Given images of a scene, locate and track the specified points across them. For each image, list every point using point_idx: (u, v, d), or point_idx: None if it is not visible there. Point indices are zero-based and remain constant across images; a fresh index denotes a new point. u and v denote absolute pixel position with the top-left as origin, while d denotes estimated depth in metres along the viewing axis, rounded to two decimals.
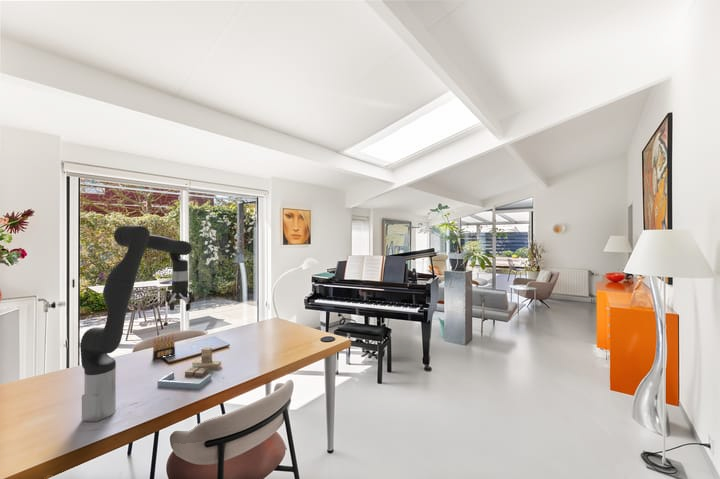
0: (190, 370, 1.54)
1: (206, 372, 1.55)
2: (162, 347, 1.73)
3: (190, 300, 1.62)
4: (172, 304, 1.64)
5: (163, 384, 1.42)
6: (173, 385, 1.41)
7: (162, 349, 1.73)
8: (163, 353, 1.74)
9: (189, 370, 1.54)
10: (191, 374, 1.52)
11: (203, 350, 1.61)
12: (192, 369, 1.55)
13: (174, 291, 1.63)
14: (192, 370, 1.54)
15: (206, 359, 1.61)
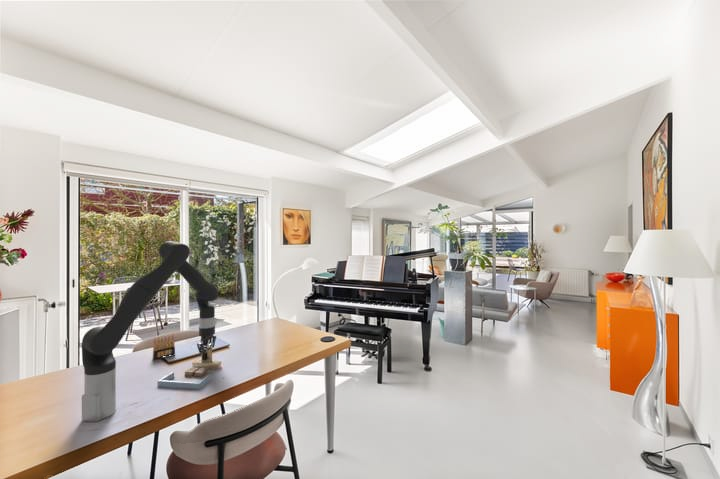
0: (190, 370, 1.54)
1: (206, 372, 1.55)
2: (162, 347, 1.73)
3: (213, 345, 1.66)
4: None
5: (163, 384, 1.42)
6: (173, 385, 1.41)
7: (162, 349, 1.73)
8: (163, 353, 1.74)
9: (189, 370, 1.54)
10: (191, 374, 1.52)
11: None
12: (192, 369, 1.55)
13: (206, 338, 1.60)
14: (192, 370, 1.54)
15: None
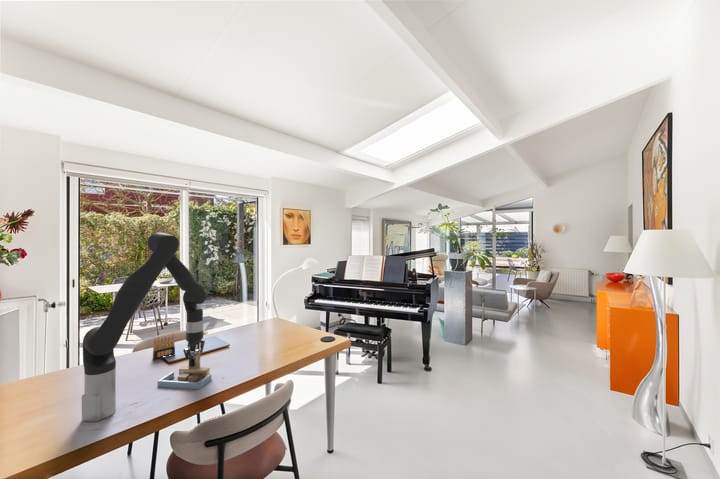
0: (183, 375, 1.48)
1: (200, 377, 1.49)
2: (162, 347, 1.73)
3: (201, 350, 1.56)
4: None
5: (163, 384, 1.42)
6: (173, 385, 1.41)
7: (162, 349, 1.73)
8: (163, 353, 1.74)
9: (182, 375, 1.48)
10: (184, 379, 1.46)
11: None
12: (185, 374, 1.49)
13: (193, 343, 1.50)
14: (185, 375, 1.48)
15: None
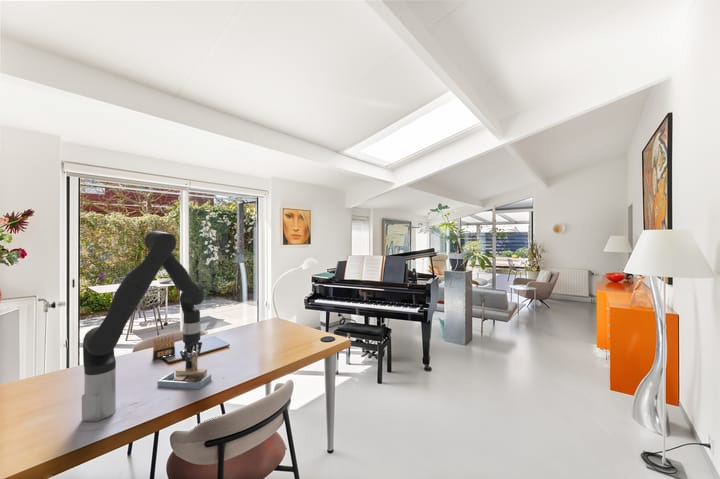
0: (179, 378, 1.46)
1: (197, 380, 1.47)
2: (162, 347, 1.73)
3: (199, 352, 1.54)
4: None
5: (163, 384, 1.42)
6: (173, 385, 1.41)
7: (162, 349, 1.73)
8: (163, 353, 1.74)
9: (178, 378, 1.46)
10: None
11: None
12: (182, 376, 1.47)
13: (190, 345, 1.47)
14: (182, 378, 1.46)
15: None
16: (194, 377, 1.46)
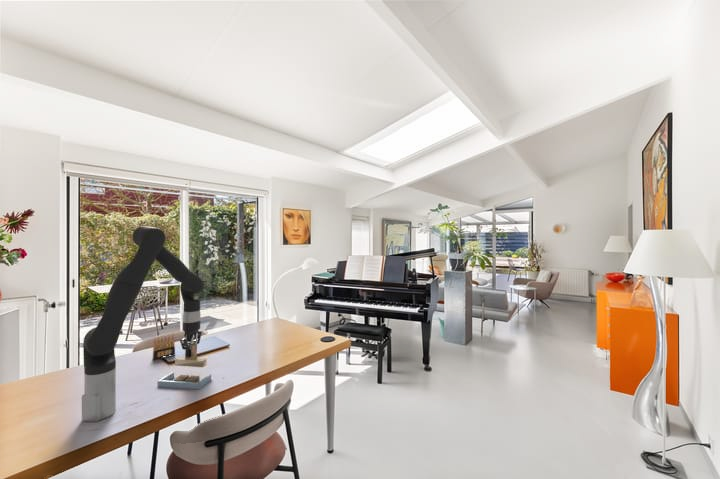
0: (179, 378, 1.46)
1: (197, 380, 1.47)
2: (162, 347, 1.73)
3: (198, 341, 1.54)
4: None
5: (163, 384, 1.42)
6: (173, 385, 1.41)
7: (162, 349, 1.73)
8: (163, 353, 1.74)
9: (178, 378, 1.46)
10: None
11: None
12: (182, 376, 1.47)
13: (190, 333, 1.47)
14: (181, 378, 1.46)
15: None
16: (194, 377, 1.46)
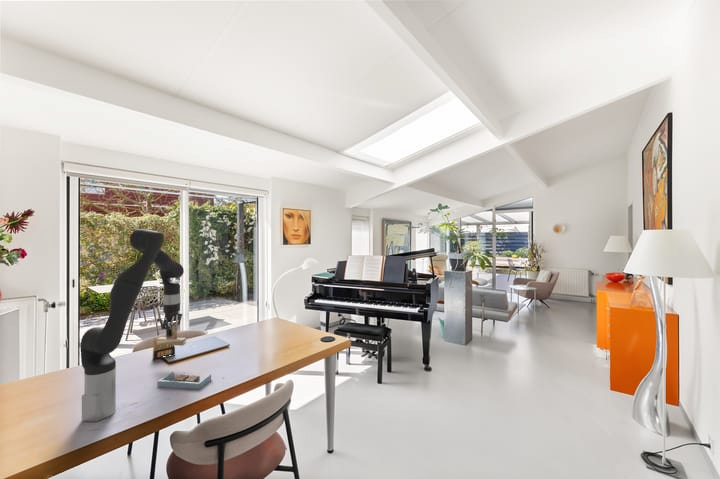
0: (179, 378, 1.46)
1: (197, 380, 1.46)
2: (162, 347, 1.73)
3: (179, 322, 1.67)
4: None
5: (163, 384, 1.42)
6: (173, 385, 1.41)
7: (162, 349, 1.73)
8: (163, 353, 1.74)
9: (178, 377, 1.46)
10: None
11: None
12: (182, 376, 1.47)
13: (170, 315, 1.60)
14: (181, 378, 1.46)
15: None
16: (194, 377, 1.46)
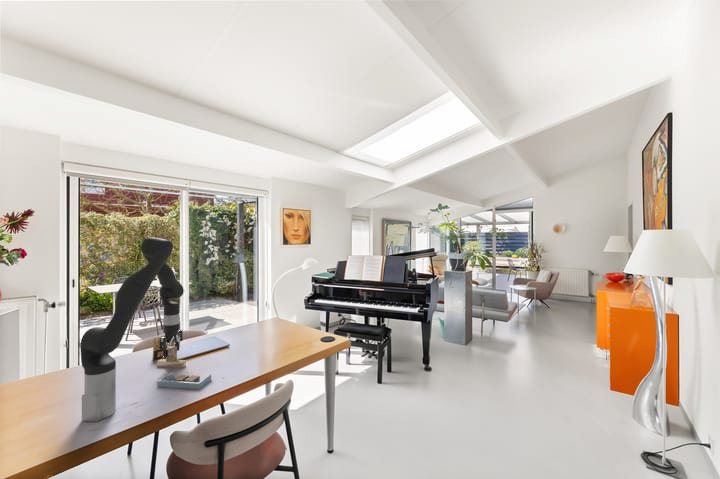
0: (179, 377, 1.46)
1: (197, 380, 1.46)
2: None
3: (182, 338, 1.70)
4: None
5: (163, 384, 1.42)
6: (173, 385, 1.41)
7: None
8: None
9: (178, 377, 1.46)
10: None
11: None
12: (182, 376, 1.47)
13: (170, 335, 1.61)
14: (181, 378, 1.46)
15: (170, 358, 1.62)
16: (194, 377, 1.46)
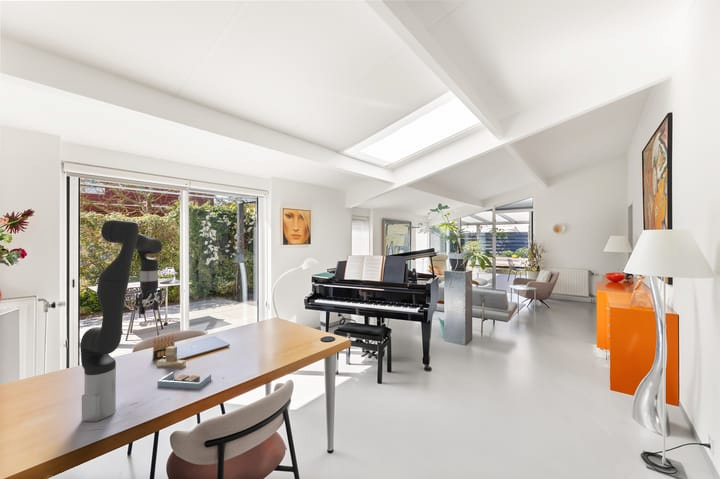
0: (179, 377, 1.46)
1: (197, 380, 1.46)
2: (162, 347, 1.73)
3: (161, 298, 1.62)
4: None
5: (163, 384, 1.42)
6: (173, 385, 1.41)
7: (162, 349, 1.73)
8: (163, 353, 1.74)
9: (178, 377, 1.46)
10: None
11: (167, 349, 1.62)
12: (182, 376, 1.47)
13: (147, 292, 1.53)
14: (181, 378, 1.45)
15: (170, 358, 1.62)
16: (194, 377, 1.46)
